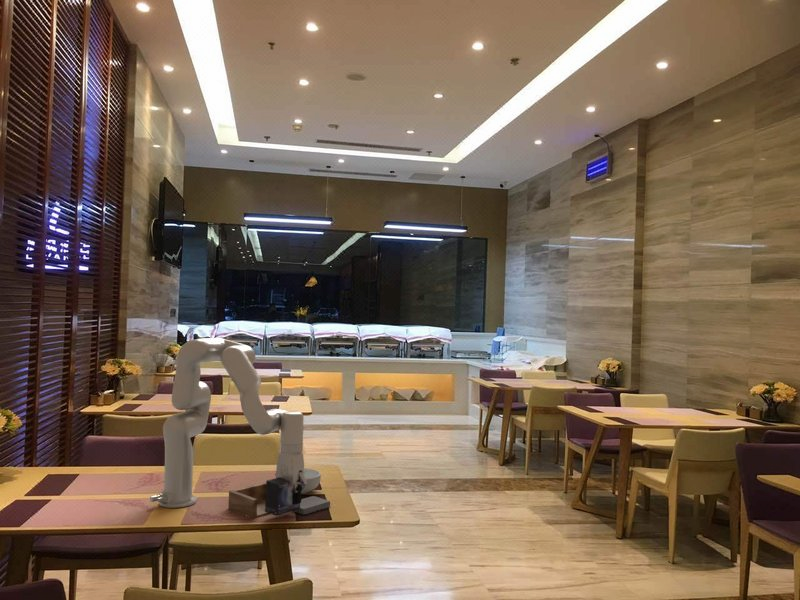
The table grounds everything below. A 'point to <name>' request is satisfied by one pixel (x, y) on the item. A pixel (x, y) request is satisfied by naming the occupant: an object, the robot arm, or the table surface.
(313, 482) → the cereal bowl
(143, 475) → the table surface
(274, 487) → the small box
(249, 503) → the box
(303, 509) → the slate stand
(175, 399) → the robot arm
